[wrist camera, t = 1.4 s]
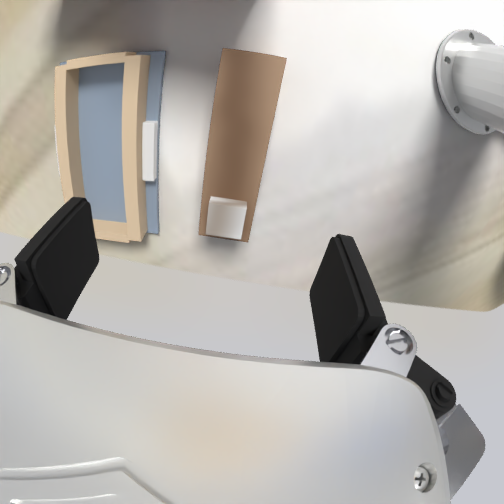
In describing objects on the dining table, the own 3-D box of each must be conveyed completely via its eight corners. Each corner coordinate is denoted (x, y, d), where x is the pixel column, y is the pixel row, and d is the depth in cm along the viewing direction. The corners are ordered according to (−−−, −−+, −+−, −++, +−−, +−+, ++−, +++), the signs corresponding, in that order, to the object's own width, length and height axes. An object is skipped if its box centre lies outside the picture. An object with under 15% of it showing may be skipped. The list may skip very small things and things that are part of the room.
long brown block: (280, 60, 21) (288, 57, 15) (249, 210, 30) (247, 250, 25) (230, 52, 21) (220, 46, 15) (208, 203, 30) (196, 242, 24)
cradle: (165, 51, 20) (155, 49, 18) (159, 230, 32) (151, 245, 29) (63, 62, 19) (46, 65, 17) (74, 221, 31) (63, 234, 29)
